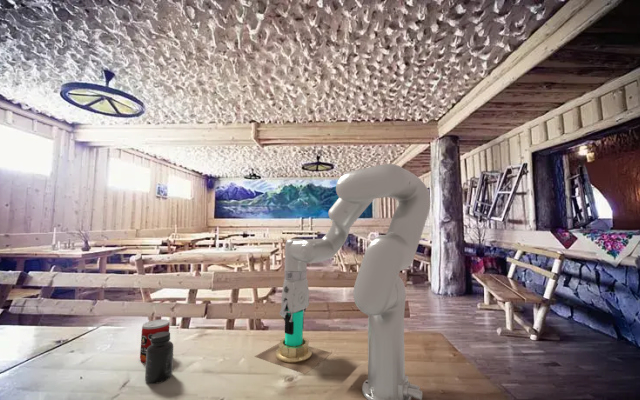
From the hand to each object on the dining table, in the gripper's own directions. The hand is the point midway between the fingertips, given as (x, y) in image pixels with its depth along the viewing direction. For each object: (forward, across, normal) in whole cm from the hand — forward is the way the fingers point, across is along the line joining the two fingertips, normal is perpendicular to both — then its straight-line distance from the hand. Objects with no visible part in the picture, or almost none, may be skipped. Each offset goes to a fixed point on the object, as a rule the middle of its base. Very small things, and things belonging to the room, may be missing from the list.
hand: (294, 330), depth 92 cm
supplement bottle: (+10, -30, +26) cm, 41 cm away
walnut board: (+9, 0, 0) cm, 9 cm away
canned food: (+10, -24, +40) cm, 47 cm away
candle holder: (+8, 0, 0) cm, 8 cm away
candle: (+4, 0, 0) cm, 4 cm away
